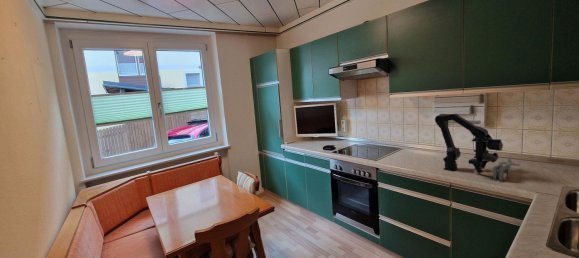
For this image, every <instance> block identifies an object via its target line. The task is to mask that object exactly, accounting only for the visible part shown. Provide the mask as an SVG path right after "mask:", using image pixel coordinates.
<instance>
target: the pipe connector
mask: <svg viewBox="0 0 579 258" xmlns="http://www.w3.org/2000/svg"><path fill="white" fill-rule="evenodd" d="M499 164H503V165H504V166H505V165H509V172H512V171H511V169H512V166H515V167H519V166H521V164H520V163H519V162H513V161H512V155H507V161H501V160H500V161H499V162H498V165H499Z"/></svg>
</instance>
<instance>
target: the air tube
mask: <svg viewBox="0 0 579 258" xmlns="http://www.w3.org/2000/svg"><path fill="white" fill-rule="evenodd" d="M473 173H474V174H477V175H482V176H486V177H491V178H493V169H486V168H484V169H483V168H481V172H480V173H478V172H477V170H476V168H475V167H474V168H473ZM506 178H507V174H506V173H505V172H504V174H503V181H506V180H507V179H506ZM497 179H498V180H499V171H497Z"/></svg>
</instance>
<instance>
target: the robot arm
mask: <svg viewBox="0 0 579 258" xmlns="http://www.w3.org/2000/svg"><path fill="white" fill-rule="evenodd" d="M434 121H435V124H436V125H437V127H439V128H440V132H441V135H442V137H443V140H444V143H445V146H446V156H445V157H443V158H442V159H443V162H444V168H443V170H445V171H449V172H454V171H456V170H458V163H457V160H458V159H459V158H460V157H461V154H462V152H461V151H460V148H459V147H457V146H456V145H455V143H454V140H453V137H452V135H451V131H450V128H449V121H453V122H454V123H456V124H459V125H460V126H461V127H463V128H465V129H466V130H468V131H469V133H470V134H471V135H472V136H473V137H474V138H473V139H471V142H474V143H475V149H474V150H473V152H475V153H474V154H475V155H474V156H473V157H472V158H470V159H469V160H468V164H469V165H473V166H474V168H476V170H477V172H478V173H480V172H481V168H483V169H486V166H487V163H490V162H491V163H495V162H497V161H498V159H499V154H498V152H499V151H500V152H501V151H502V150H503V147H504V144H503V141H502V139H499V138H497V139H495V138H493V137H492V136H491V135H490V134H489V131H488V129H486V128H484V127H482V126H478V125H475V124H474V123H473V122H470V121H469V120H468V119H465V118H464V117H462V116H460V115H459V114H458V113H452V114H445V113H444V114H438V115H436V116H435V118H434ZM489 150H490V151H498V152H493V153H491V152H489Z"/></svg>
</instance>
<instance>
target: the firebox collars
mask: <svg viewBox="0 0 579 258" xmlns="http://www.w3.org/2000/svg"><path fill="white" fill-rule="evenodd" d="M492 171H493V177H492V178H491V180H492V181H493V180H494V182H497V181H499V182H498V183H503V182H504V180H503V174H504V173H506V174H507V179H510V171H509V165H505V164H499V163H498V164H497V165H496V166H494V167H493V169H492ZM497 172H499V179H497ZM507 179H506V180H507ZM502 181H503V182H502Z"/></svg>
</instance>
